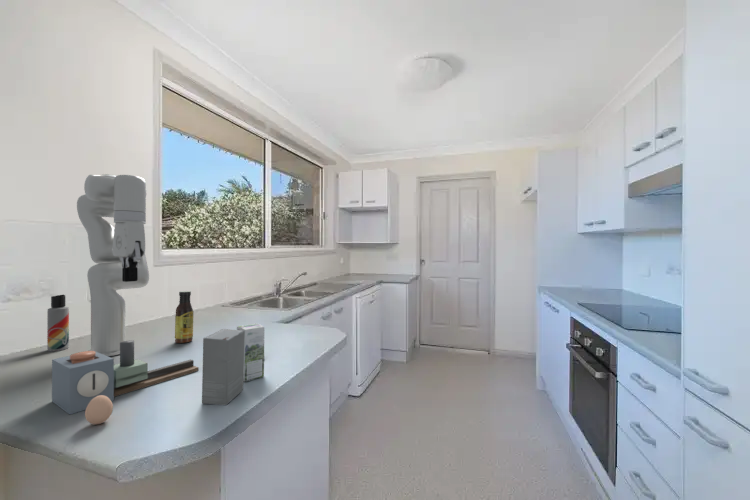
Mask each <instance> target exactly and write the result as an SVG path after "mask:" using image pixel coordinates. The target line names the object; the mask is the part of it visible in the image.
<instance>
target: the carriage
mask: <svg viewBox="0 0 750 500" xmlns="http://www.w3.org/2000/svg"><path fill="white" fill-rule="evenodd" d="M148 367H149V366H148V362H145V361H143V360H140V359H138V358H137V359H135V340H133V339H131V340H125V341H123V342H120V354H119V363H116V364H114V387H116V388H117V387H120V386H124V385H127V384H131V383H134V382H137V381H141V380H144V379H148V371H149V370H148Z"/></svg>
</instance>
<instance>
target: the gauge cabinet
mask: <svg viewBox="0 0 750 500" xmlns="http://www.w3.org/2000/svg"><path fill="white" fill-rule="evenodd" d="M95 352H96V351H95ZM114 363H115V360H114V358H113V357H112V356H109V357H108V356H106V355H103V354H101V353H98V352H96V355H95V356H94V359H93V360H89V361H84V362H80V363H75V364H72V360H70V355H68V356H63V357H56V358H52V359H51V402H52V403H53V404H55V405H56V406H57V407H59V408H60V409H61V410H63V411H64V412H65V413H67V414H68V415H73V414H76V413H80V412H82V411H85V410H86V408H87V406H88V404H89V402H90V401H91V400H92V399H93V398H95V397H97V396H99V395H104V396H107V397H108V398H109V399H110V400H111V402H114V401H115V398H114V365H115V364H114Z"/></svg>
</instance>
